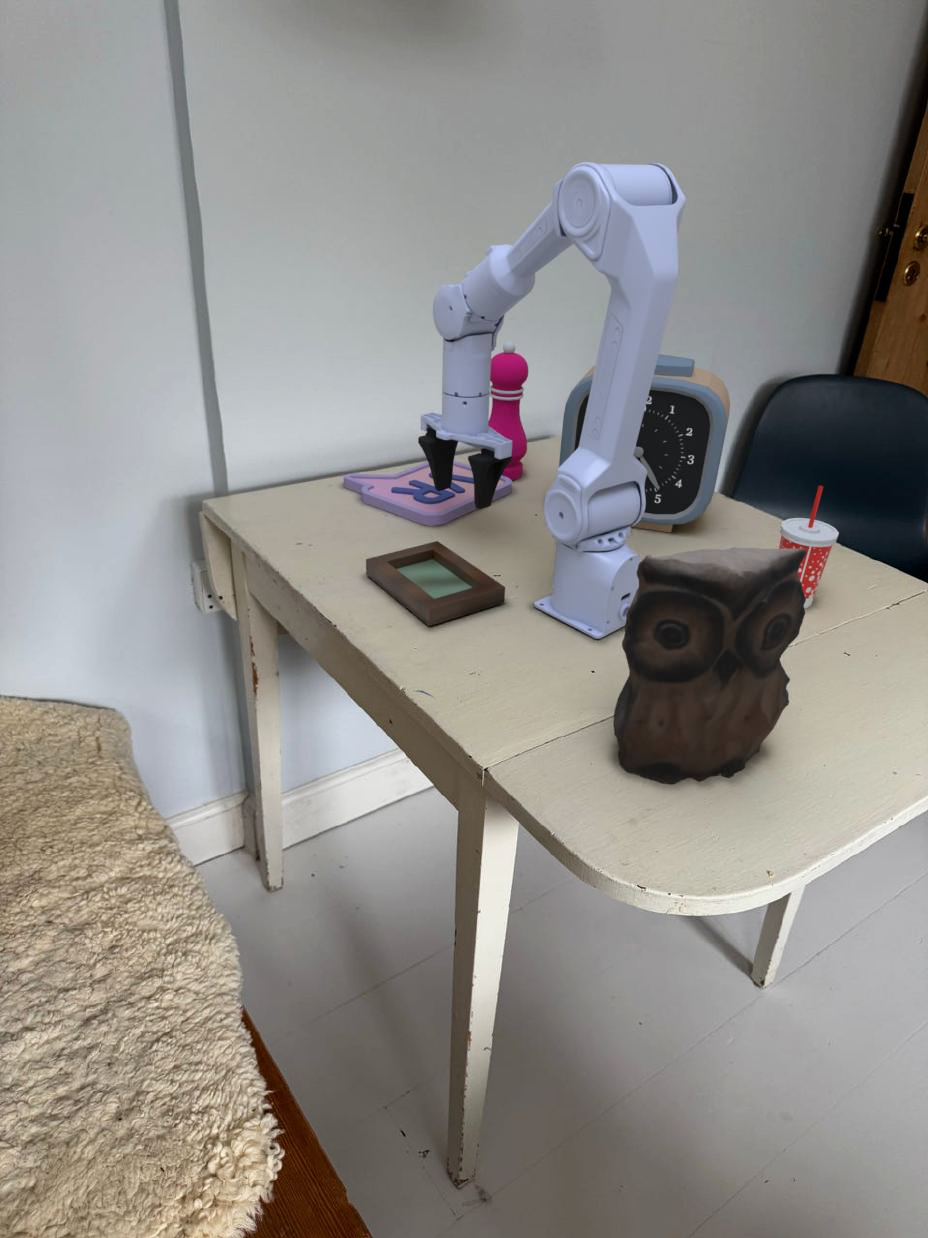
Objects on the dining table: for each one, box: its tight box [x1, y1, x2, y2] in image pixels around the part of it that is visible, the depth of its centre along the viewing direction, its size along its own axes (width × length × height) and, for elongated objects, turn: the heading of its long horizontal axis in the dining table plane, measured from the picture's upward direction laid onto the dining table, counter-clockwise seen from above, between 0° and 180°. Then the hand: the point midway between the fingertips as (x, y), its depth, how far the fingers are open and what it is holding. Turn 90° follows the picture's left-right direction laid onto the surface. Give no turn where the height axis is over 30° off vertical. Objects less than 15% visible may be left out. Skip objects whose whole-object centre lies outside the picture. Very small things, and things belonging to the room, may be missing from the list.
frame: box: [365, 540, 506, 627], centre depth 96 cm, size 14×10×2 cm
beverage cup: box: [778, 485, 840, 609], centre depth 94 cm, size 6×6×14 cm
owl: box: [613, 546, 807, 785], centre depth 68 cm, size 13×13×20 cm
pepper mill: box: [479, 341, 529, 481], centre depth 125 cm, size 7×7×20 cm
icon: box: [343, 460, 513, 527], centre depth 123 cm, size 19×2×20 cm
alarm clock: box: [558, 353, 731, 533], centre depth 112 cm, size 21×10×22 cm, turn 72°
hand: (462, 497), depth 107 cm, fingers open, 7 cm apart
